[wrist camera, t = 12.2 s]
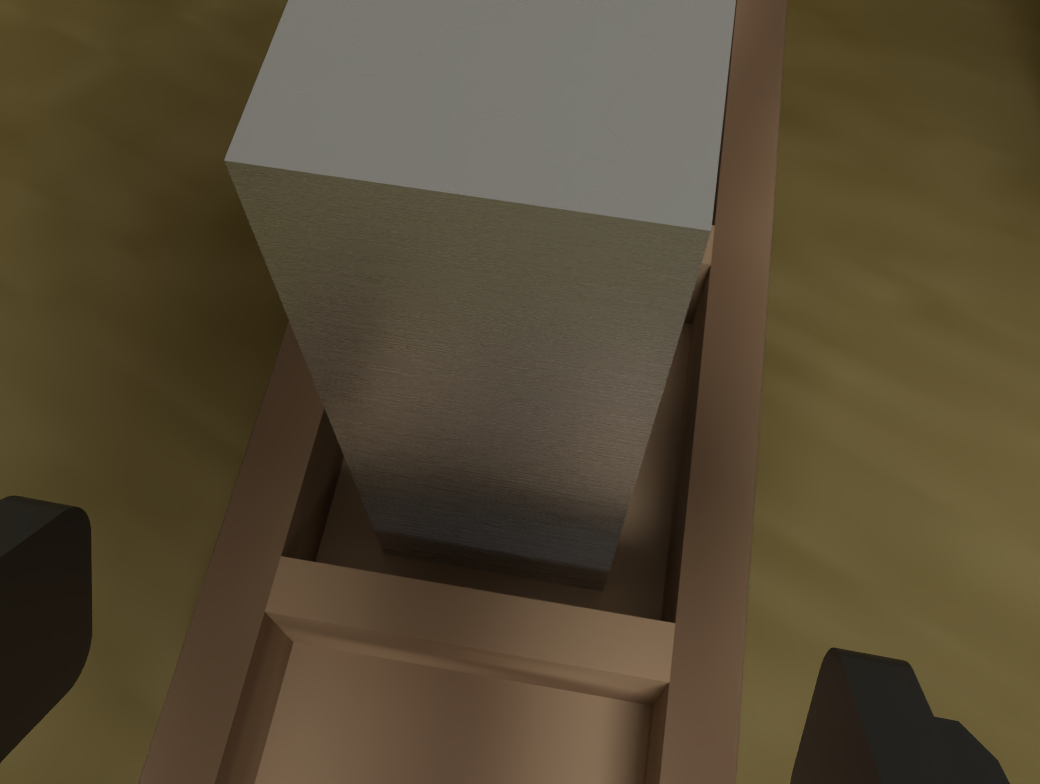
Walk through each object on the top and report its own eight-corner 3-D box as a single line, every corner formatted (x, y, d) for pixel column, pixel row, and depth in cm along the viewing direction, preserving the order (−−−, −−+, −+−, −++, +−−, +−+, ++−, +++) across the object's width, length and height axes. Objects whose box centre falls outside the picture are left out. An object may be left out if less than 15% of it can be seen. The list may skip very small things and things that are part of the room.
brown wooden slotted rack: (769, 57, 27) (959, -561, 16) (703, 932, 18) (1078, 1035, 6) (424, 14, 28) (357, -608, 16) (178, 831, 18) (-423, 742, 7)
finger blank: (634, 369, 22) (749, -136, 11) (603, 591, 19) (711, 230, 9) (436, 338, 22) (361, -180, 11) (383, 553, 20) (224, 160, 9)
